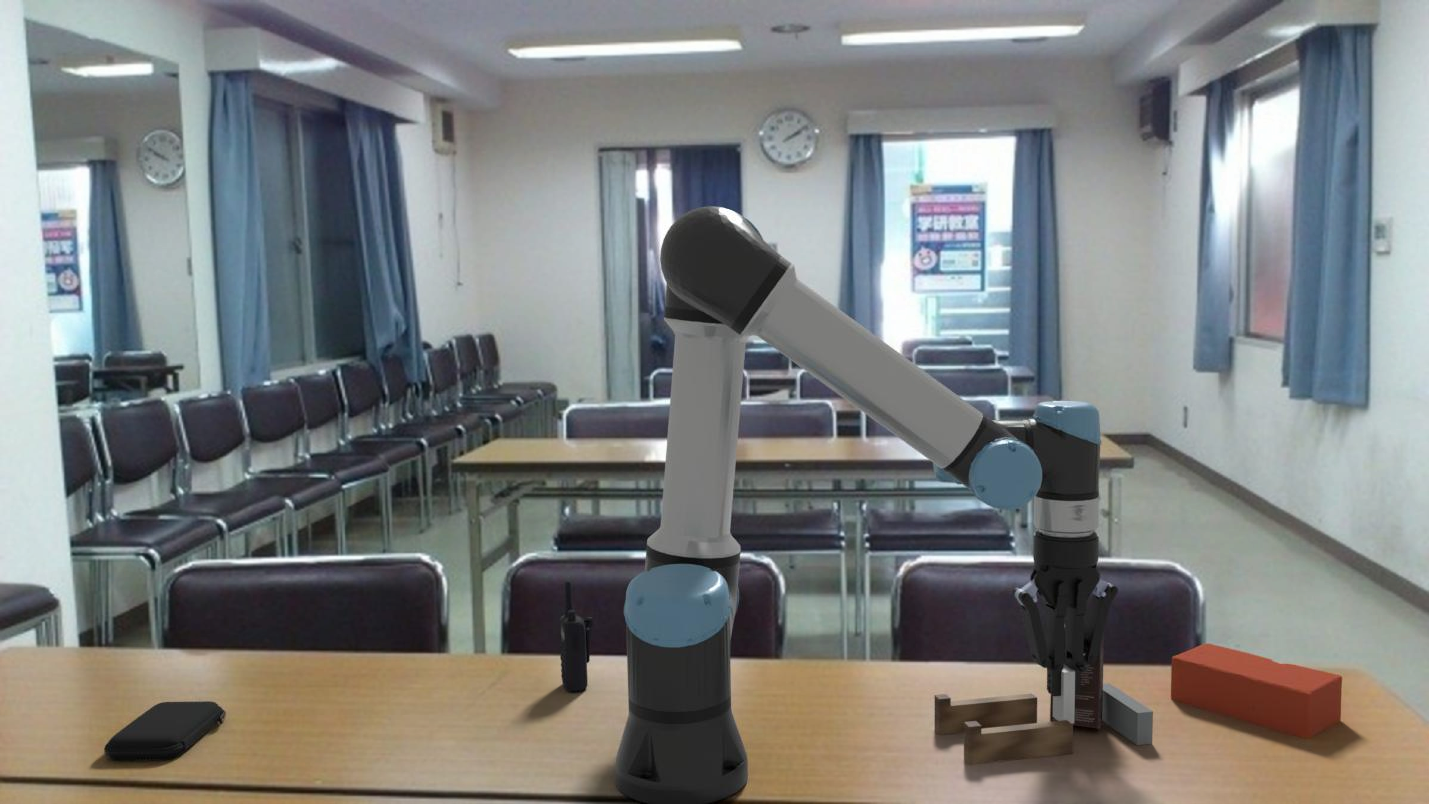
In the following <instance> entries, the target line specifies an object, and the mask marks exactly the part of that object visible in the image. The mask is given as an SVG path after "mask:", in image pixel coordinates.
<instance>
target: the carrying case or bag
mask: <svg viewBox="0 0 1429 804" xmlns="http://www.w3.org/2000/svg"><path fill="white" fill-rule="evenodd" d="M226 716H227V712H226V710H225V709H223V708H222V707H221V706H219V704H217V702H214V701H212V700H211V701H209V700H208V701H207V700H206V701H205V700H204V701H163V702H159V703H157V704H154V705H153V706H152V707H150V708H149V709H148V710H146V711H144V712H143V713H142V714H141V715H139V716H138V717H136V718H135V719H134V720H132V721H131V722H130V723H128V724H127V725H126V726H124V727H123V728H122V729H121V730H119V731H118V732H117V733H115V734H114V735H113V736H111V738H110V739H109V740H108V742H107V743H106V744H105V745H104V748H103V750H104V754H105V755H106V757H109V759H111V760H113V761H118V762H119V761H169V760H172V759H173V760H174V759H175V758H177V757H179V756H180V755H181V754H183V753H185V751H186V750H187V749H188V748H190V747H191V746H192V745H193V744H195V743H196V742H197V741H198V740H199V739H200V738H201V737H203V736H204V735H205V734H206V733H207V732H208V731H210V730H211V729H212V728H213V727H214V726H216V724H218V723H219V725H223V723H224V721H225V718H226Z"/></svg>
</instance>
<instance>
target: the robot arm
mask: <svg viewBox="0 0 1429 804" xmlns="http://www.w3.org/2000/svg"><path fill="white" fill-rule="evenodd" d="M659 256H660V257H659V261H660V269H661V272H662V275H663V278H664V280H665V282H666V285H665V300H664V301H665V302H664V315H663V320H664V322H665V323H666V324H667V325H668V327H669V328H670V329H671V330H672V331H673V333H674V345H673V346H674V349H673V360H672V371H671V372H672V374H671V386H670V401H669V411H668V412H669V414H668V425H667V439H666V453H665V464H664V479H663V492H662V506H661V514H660V517H661V518H660V527H659V528H658V529H657V530H655V532H654V533H653V534H651V535H650V536H648V538H647V541H646V553H645V562H644V563H645V565H644V571H642V572H640V573H638V574H637V575H636V576H635V577H634V578H632V580H631V581H630V582H629V583H628V586H627V587H626V588H627V589H626V592H625V601H624V606H623V615H624V620H625V625H626V626H625V627H626V632H625V633H626V635H625V636H626V661H627V662H626V663H627V695H628V717H627V720H626V722H625V726H624V728H623V729H624V730H623V732H622V736H621V740H620V743H619V746H618V749H617V752H616V756H615V760H614V780H615V786H616V787H617V789H618V790H619V791H620V792H621V793H622V794H623V795H625V796H626V797H629V798H631V799H633V800H635V801H638V802H640V803H641V802H642V803H645V804H710V803H714V802H719V801H721V800H723V799H727V798H728V797H730V796H733V795H734V794H737V792H739V791H740V790H742V788H744V786H745V785H746V783H747V782H748V780H749V779H748V778H749V765H748V763H749V761H748V760H749V759H748V756H747V755H748V754H747V751H746V748H745V746H744V742H743V740H742V737H741V733H740V732H739V728H738V726H737V723H736V720H735V717H734V714H733V711H732V683H731V682H732V680H731V679H732V678H731V677H732V675H731V673H732V672H731V671H732V670H731V638H732V634H733V628H734V622H735V616H736V614H737V611H738V607H739V603H740V602H739V601H740V589H739V587H738V586H739V575H740V561H741V560H740V559H741V544H739V542H738V541H737V539H735V538H734V537H733V535H732V533H731V523H732V510H733V500H734V486H735V474H736V464H737V463H736V462H737V453H738V452H737V451H738V439H739V428H740V427H739V426H740V417H741V406H742V405H741V401H742V391H743V390H742V389H743V380H744V379H743V378H744V367H745V356H746V343H747V340H748V339H749V337H751V336H754V337H755V336H756V337H758V338H760V339H761V340H762V341H764V342H765V343H766V344H768V345H770V346H771V347H772V348H773V349H774V350H776V351H777V352H779V353H781V354H782V355H783V356H785V358H787V359H789V360H790V361H791V362H793V363H794V364H796V365H797V366H798V367H800V368H801V369H803V370H804V371H806V373H808V374H809V375H810V376H812V377H814V379H817V380H818V381H820V382H821V383H822V384H823V385H825V386H826V387H828V388H829V390H831V391H833V392H835V393H836V394H838V395H839V396H840V397H841V398H843V399H844V400H846V401H847V402H849V404H851V405H853V406H854V407H855V408H857V409H858V410H859V411H861V412H862V413H864V414H865V415H866V416H867V417H869V418H870V419H872V420H873V421H875V422H876V423H877V424H879V425H880V426H882V427H883V428H885V429H886V430H887V431H888V432H890V433H891V434H893V435H894V436H896V437H897V438H898V439H900V440H901V441H903V442H904V443H905V444H906V445H908V446H909V447H911V448H912V449H913V450H915V451H916V452H918V453H919V454H921V455H922V456H924V457H925V458H927V459H928V460H929V461H930V462H932V466H933V471H934V476H935V478H936V480H937V481H939V482H940V483H948V484H957V485H962V486H964V487H966V488H967V489H968V490H969V491H971V492H973V495H974V496H975V497H976V499H978V500H979V501H980V502H982V503H984V504H985V505H987V506H989V507H990V508H994V509H996V510H1001V511H1002V510H1003V511H1008V510H1009V511H1011V510H1016V509H1019V508H1022V507H1024V506H1026V505H1027V504H1029V502H1031V501H1032V500H1033V526H1034V527H1035V528H1036V530H1035V531H1034V532H1033V537H1032V538H1033V544H1032V545H1033V549H1032V550H1033V552H1032V556H1033V565H1034V566H1033V570H1032V571H1031V574H1030V578H1029V579H1030V581H1029V582H1027V583H1026V584H1025V585H1024V586H1022V587H1021V588H1019V587H1015V588H1013V590H1012V591H1011V592H1012V596H1013V598H1014V600H1016V602H1017V604H1018V605H1019V608H1020V613H1021V617H1022V620H1023V625H1024V631H1025V633H1026V634H1025V635H1026V639H1027V643H1028V648H1029V652H1030V655H1031V660H1032V661H1033V662H1034V663H1036V664H1037V665H1039V666H1040V667H1041V668H1044V669H1046V690H1047V693H1048V694H1050V696H1051V695H1052V696H1053V717H1054V718H1055V719H1057V720H1058V721H1062V720H1067V721H1069V722H1070V723H1071V724H1073V723H1074V712H1075V694H1079V693H1080V691H1081V672H1084V671H1085V670H1086V666H1084V665H1086V664H1088V663H1091V664H1093V663H1095V662H1096V660H1097V657H1098V653H1099V649H1100V644H1101V640H1102V636H1103V632H1104V633H1105V628H1106V624H1107V620H1108V615H1109V611H1110V606H1111V604H1112V603H1113V601H1114V599H1115V598H1116V596H1117V595H1118V593H1119V589H1118V586H1116V585H1114V584H1112V583H1110V582H1108V581H1105V580H1104V579H1102V578H1101V573H1100V571H1099V568H1098V565H1097V564H1098V562H1099V538H1100V535H1099V534H1097V533H1096V530H1097V529H1099V527H1100V526H1099V525H1100V524H1099V523H1100V522H1099V521H1100V520H1099V517H1100V491H1099V490H1100V468H1101V467H1100V463H1101V462H1100V461H1101V445H1102V439H1101V423H1100V422H1101V421H1100V412H1099V410H1098V408H1097V407H1096V406H1095V405H1093V404H1091V403H1090V402H1084V401H1078V400H1077V401H1075V400H1053V401H1042V402H1039V403H1038V404H1036V405H1035V408H1034V414H1033V415H1032V418H1027V419H1019V420H1014V419H1011V420H1009V419H1006V420H1004V419H1002V420H1001V419H995V420H993V419H991V418H989V417H988V416H986V415H985V414H984V413H982V412H981V411H980V410H979V409H977V408H975V407H974V406H973V405H972V404H970V403H969V402H967V401H966V400H965V399H963V398H962V397H960V396H959V395H957V394H956V393H955V392H954V391H952V390H951V389H950V388H948V387H947V386H945V385H944V384H943V383H941V382H940V381H939V380H937V379H935V378H934V377H933V376H932V375H930V374H929V373H928V372H926V371H925V370H923V369H922V368H921V367H919V366H918V365H916V364H915V363H913V362H912V360H909V359H908V358H906V357H905V356H904V355H903V354H901V353H900V352H899V351H897V350H896V349H894V347H891V346H890V345H889V344H888V343H886V342H885V341H883V340H882V339H880V338H879V337H878V336H876V335H875V334H874V333H872V332H871V331H869V329H867V328H865V327H864V326H863V325H862V324H860V323H859V322H857V321H856V320H855V319H853V318H851V317H850V316H849V315H847V314H846V313H845V312H843V311H842V310H841V309H839V308H838V307H836V306H835V305H834V304H832V302H830V301H829V300H827V299H825V298H824V297H823V296H821V295H820V294H819V293H817V292H816V291H814V290H813V289H812V288H810V287H809V286H808V285H806V284H805V283H803V282H802V281H801V280H800V279H798V277H797V274H796V268H795V264H794V263H792V262H790V261H789V260H788V259H786V258H785V257H784V256H782V255H781V254H780V253H778V252H777V251H776V250H775V249H773V248H772V247H771V245H769V244H768V242H766V241H765V240H764V238H763V236H762V234H761V233H760V230H758V229H757V227H756V226H755V225H754V224H753V222H752V221H750V220H749V219H747V218H746V217H744V216H742V214H740V213H738V212H736V211H734V210H731V209H728V208H725V207H722V206H712V205H711V206H710V205H709V206H700V207H697V208H694V209H692V210H690V211H688V212H686V213H684V214H682V215H681V216H680V217H678V218H677V219H676V220H675V221H674V222H673V223H672V225H671V226H670V227H669V228H668V230H667V231H666V234H665V235H664V238H663V240H662V244H661V247H660V255H659ZM1037 593H1038V594H1039V596H1040V598H1041V599H1042V600H1043V608H1044V612H1045V633H1044V629H1043V625H1042V619H1041V616H1040V615H1041V614H1040V611H1039V608H1038V606H1037V604H1036V603H1037V602H1038V597H1037ZM1091 595H1092V596H1091ZM1090 596H1091V598H1090V601H1089V605H1088V609H1087V600H1088V599H1089V597H1090ZM1085 616H1086V618H1085ZM1064 624H1065V662H1066V665H1065V664H1064Z"/></svg>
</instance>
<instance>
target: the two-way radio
mask: <svg viewBox="0 0 1429 804" xmlns="http://www.w3.org/2000/svg"><path fill="white" fill-rule="evenodd" d="M564 610H565V611H564V614H563V615H562V616H560V618H559V630H560V631H559V633H560V644H559V647H560V649H559V650H560V662H561V663H560V668H561V669H560V671H561V673H560V675H561V682H562V685H563V687H564V688H565V690H566V691H568V692H570V691H574V692H578V691H579V692H581V690H582V691H583V690H585V689H586V688H588V681H589V680H588V663H590V661H591V660H590V657H591V656H590V655H591V654H590V638H591V637H590V636H591V631H592V627H593V626H594V621H593V620H594V619H593V617H592V616H587V617H586V619H584V618H583V617H581V616H579V615H576V611H575V609H573V596H572V583H571V581H570V579H569V580H568V579H567V580H565V582H564Z"/></svg>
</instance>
